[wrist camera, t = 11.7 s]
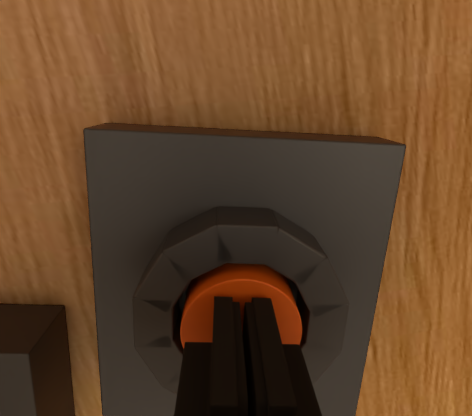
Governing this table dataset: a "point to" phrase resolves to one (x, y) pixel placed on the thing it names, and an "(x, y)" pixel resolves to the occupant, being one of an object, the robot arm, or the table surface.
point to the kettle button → (238, 300)
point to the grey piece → (234, 245)
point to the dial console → (34, 361)
